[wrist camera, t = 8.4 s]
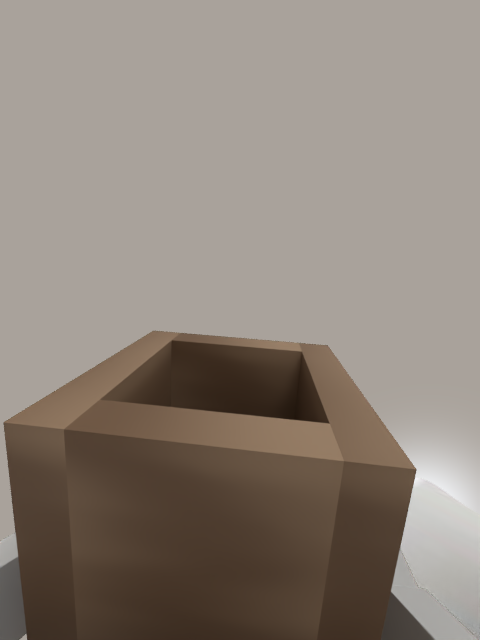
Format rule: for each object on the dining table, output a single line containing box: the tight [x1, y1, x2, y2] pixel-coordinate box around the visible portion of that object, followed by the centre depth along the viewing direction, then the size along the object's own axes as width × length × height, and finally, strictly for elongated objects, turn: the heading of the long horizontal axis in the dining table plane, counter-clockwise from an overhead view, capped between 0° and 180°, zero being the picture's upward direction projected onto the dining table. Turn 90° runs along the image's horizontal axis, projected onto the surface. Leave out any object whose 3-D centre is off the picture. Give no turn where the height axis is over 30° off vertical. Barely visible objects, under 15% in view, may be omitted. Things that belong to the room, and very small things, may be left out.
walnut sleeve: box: [4, 331, 416, 640], centre depth 7 cm, size 5×5×10 cm
